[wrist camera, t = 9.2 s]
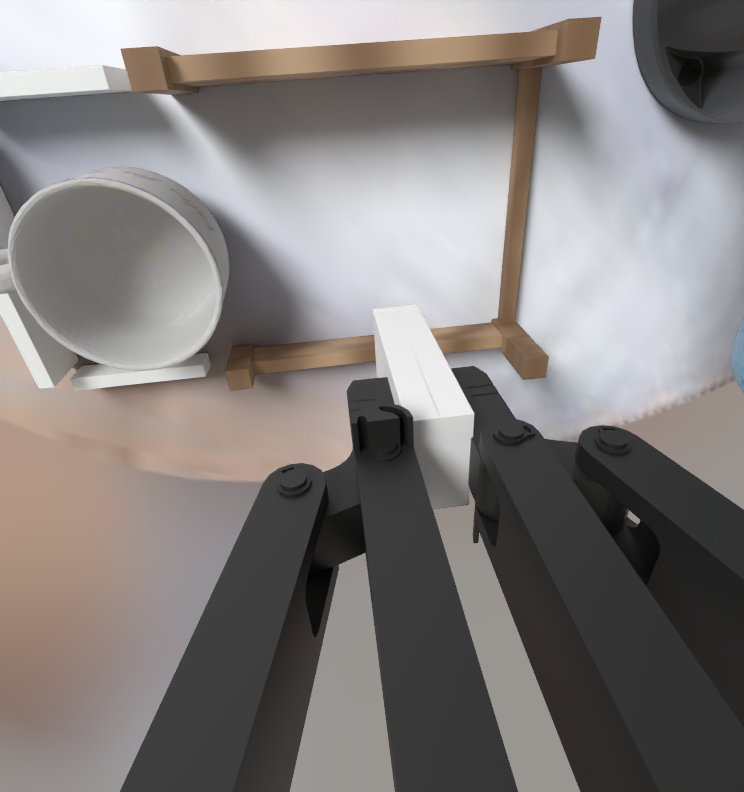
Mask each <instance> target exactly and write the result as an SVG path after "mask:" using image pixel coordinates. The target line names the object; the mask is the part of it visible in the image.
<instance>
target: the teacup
mask: <svg viewBox="0 0 744 792" xmlns="http://www.w3.org/2000/svg"><path fill="white" fill-rule="evenodd" d="M228 278H229V256H228V250H227V246H226V242H225V239H224V236H223V234H222V232H221V229H220V228H219V226H218V224H217V222H216V220H215V219H214V217H213V216H212V214H211V213H210V211H209V210H208V209H207V208H206V206H205V205H204V204H203V203H202V202H201V201H200V200H199V199H198V198H197V197H196V196H195V195H193V194H192V193H191V192H190V191H189V190H187V189H186V188H185V187H183V186H182V185H180V184H178V183H177V182H175V181H173V180H171V179H169V178H167V177H165V176H163V175H160V174H158V173H155V172H151V171H148V170H144V169H138V168H131V167H112V168H104V169H99V170H95V171H92V172H88V173H85V174H83V175H80V176H77V177H75V178H72V179H67V180H64V181H61V182H58V183H55V184H52V185H50V186H47V187H45V188H43V189H41V190H39V191H38V192H37V193H35V194H34V195H33V196H32V197H31V198H30V199H29V200H28V201H27V202H26V203H25V204H24V205H23V206H22V207H21V208H20V210H19V211H18V213H17V214H16V216H15V218H14V221H13V223H12V225H11V227H10V232H9V238H8V249H1V250H0V294H7V293H13V292H18V295H19V297H20V298H21V300H22V302H23V303H24V305H25V306H26V308H27V309H28V311H29V312H30V313H31V314H32V316H33V317H34V318H35V319H36V321H37V322H38V323H39V325H40V326H41V327H42V328H43V329H44V330H45V331H46V332H47V333H48V334H49V335H50V336H52V337H53V338H54V339H55V340H56V341H58V342H59V343H61V344H62V345H64V346H65V347H66V348H68V349H70V350H71V351H73V352H75V353H77V354H79V355H81V356H82V357H85V358H87V359H89V360H91V361H94V362H97V363H99V364H103V365H106V366H111V367H115V368H118V369H124V370H134V371H146V370H156V369H162V368H166V367H170V366H173V365H176V364H178V363H180V362H182V361H184V360H187V359H188V358H190V357H191V356H193V355H194V354H196V353H197V352H198V351H199V350H200V349H202V348H203V347H204V346H205V344H206V343H207V342H208V341H209V340H210V338H211V336H212V335H213V333H214V331H215V329H216V327H217V325H218V323H219V319H220V316H221V313H222V307H223V300H224V297H225V293H226V289H227V285H228Z"/></svg>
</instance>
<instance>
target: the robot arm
mask: <svg viewBox="0 0 744 792" xmlns="http://www.w3.org/2000/svg"><path fill="white" fill-rule="evenodd" d="M633 34H634V44H635V50H636V55H637V59H638V63H639V66H640V69H641V72H642V74H643V77H644V79H645V81H646V83H647V85H648V87H649V88H650V90H651V91H652V93H653V94H654V95H655V97H656V98H657V99H658V100H659V101H660V102H661V103H662V104H663V105H664V106H665V107H666V108H667V109H669V110H670V111H672V112H673V113H675V114H677V115H679V116H681V117H683V118H686V119H688V120H692V121H697V122H705V123H728V124H732V123H744V0H634V5H633ZM372 311H373V325H374V340H375V355H376V369H377V378H373V379H364V380H355V381H352V383H351V385H350V386H349V388H348V390H347V398H348V408H349V417H350V426H351V435H352V443H353V451H352V453H351V455H350V456H349V457H348V459H347V460H346V461H345V462H343V463H342V464H341V465H339V466H337V467H335V468H333V469H331V470H328V471H325V472H322V471H321V470H320V469H319V468H317V467H315V466H313V465H309V464H304V463H300V464H290V465H287V466H284V467H281V468H279V469H277V470H276V471H274V472H273V473H271V474H270V475H269V476H268V478H267V479H266V480H265V482H264V483H263V485H262V487H261V489H260V491H259V494H258V496H257V498H256V500H255V502H254V505H253V506H252V509H251V511H250V513H249V515H248V517H247V519H246V521H245V524H244V526H243V528H242V530H241V532H240V534H239V537H238V539H237V541H236V543H235V545H234V547H233V550H232V552H231V554H230V556H229V558H228V560H227V562H226V565H225V567H224V569H223V571H222V573H221V575H220V577H219V580H218V582H217V584H216V586H215V588H214V590H213V592H212V595H211V597H210V599H209V601H208V604H207V605H206V607H205V610H204V612H203V614H202V616H201V618H200V620H199V623H198V625H197V627H196V629H195V631H194V633H193V636H192V638H191V640H190V642H189V644H188V646H187V648H186V651H185V653H184V655H183V657H182V659H181V661H180V663H179V666H178V668H177V670H176V672H175V674H174V676H173V678H172V681H171V683H170V685H169V687H168V689H167V691H166V694H165V696H164V698H163V700H162V702H161V704H160V706H159V709H158V711H157V713H156V715H155V717H154V719H153V721H152V724H151V726H150V728H149V730H148V732H147V735H146V737H145V739H144V741H143V743H142V745H141V747H140V749H139V752H138V754H137V756H136V758H135V760H134V763H133V765H132V767H131V769H130V771H129V773H128V775H127V777H126V780H125V782H124V784H123V786H122V788H121V790H120V792H289V791H290V787H291V782H292V778H293V773H294V769H295V764H296V760H297V755H298V751H299V746H300V742H301V737H302V733H303V728H304V724H305V719H306V714H307V710H308V706H309V701H310V697H311V691H312V687H313V683H314V679H315V674H316V669H317V665H318V660H319V656H320V651H321V647H322V642H323V638H324V633H325V629H326V624H327V620H328V615H329V611H330V606H331V602H332V597H333V593H334V588H335V584H336V579H337V575H338V570H339V564H341V563H343V562H345V561H347V560H350V559H352V558H354V557H356V556H359V555H361V554H363V553H366V560H367V569H368V577H369V585H370V593H371V601H372V609H373V617H374V625H375V633H376V641H377V650H378V658H379V666H380V674H381V682H382V690H383V698H384V707H385V715H386V723H387V731H388V739H389V747H390V755H391V764H392V772H393V780H394V787H395V792H518V790H517V787H516V783H515V780H514V777H513V773H512V770H511V767H510V763H509V760H508V757H507V754H506V750H505V747H504V744H503V740H502V737H501V734H500V730H499V727H498V724H497V721H496V717H495V714H494V711H493V707H492V704H491V701H490V697H489V694H488V691H487V688H486V684H485V681H484V677H483V674H482V671H481V668H480V665H479V661H478V658H477V654H476V651H475V648H474V645H473V641H472V638H471V635H470V631H469V628H468V625H467V621H466V618H465V615H464V611H463V608H462V605H461V602H460V599H459V595H458V592H457V588H456V585H455V582H454V578H453V575H452V572H451V569H450V565H449V562H448V559H447V555H446V552H445V549H444V545H443V542H442V539H441V535H440V532H439V529H438V525H437V522H436V519H435V516H434V512H433V509H440V508H447V507H456V506H464V505H469V491H470V490H471V493H472V495H473V498H474V500H475V512H474V527H473V542H474V543H478V539H479V532H480V535H481V537H482V539H483V542H484V545H485V547H486V550H487V552H488V555H489V558H490V560H491V563H492V565H493V568H494V571H495V573H496V576H497V578H498V581H499V583H500V586H501V589H502V591H503V594H504V596H505V599H506V601H507V604H508V607H509V609H510V612H511V614H512V617H513V619H514V622H515V625H516V627H517V630H518V632H519V635H520V637H521V640H522V643H523V645H524V647H525V650H526V653H527V655H528V658H529V660H530V663H531V666H532V668H533V671H534V673H535V676H536V679H537V681H538V684H539V686H540V689H541V691H542V694H543V696H544V699H545V702H546V704H547V707H548V709H549V712H550V714H551V717H552V720H553V722H554V725H555V727H556V730H557V733H558V735H559V737H560V740H561V743H562V745H563V748H564V751H565V753H566V755H567V758H568V761H569V764H570V766H571V769H572V771H573V774H574V776H575V779H576V782H577V784H578V787H579V789H580V792H744V510H743V509H742V508H740V507H739V506H737V505H736V504H735V503H733V502H732V501H730V500H729V499H727V498H726V497H724V496H723V495H722V494H720V493H719V492H717V491H716V490H714V489H713V488H712V487H710V486H708V485H707V484H706V483H704V482H703V481H701V480H700V479H699V478H697V477H695V476H694V475H693V474H691V473H690V472H688V471H687V470H686V469H684V468H683V467H681V466H680V465H678V464H677V463H675V462H674V461H673V460H671V459H670V458H668V457H667V456H665V455H664V454H663V453H661V452H659V451H658V450H657V449H655V448H654V447H652V446H651V445H650V444H648V443H647V442H645V441H644V440H642V439H641V438H639V437H638V436H636V435H634V434H633V433H631V432H629V431H627V430H624V429H621V428H617V427H614V426H602V425H601V426H594V427H589V428H588V429H586V430H584V431H582V433H581V435H580V436H579V440H578V443H576V442H565V441H555V440H549V439H544V438H543V437H542V435H541V434H540V432H539V431H538V430H537V429H536V428H535V427H534V426H533V425H531V424H528V423H526V422H524V421H521V420H517V419H516V418H515V417H514V415H513V414H512V412H511V411H510V409H509V408H508V406H507V405H506V403H505V401H504V400H503V398H502V397H501V395H500V394H498V391H497V389H496V388H495V386H493V383H492V381H491V380H490V378H489V377H488V375H487V374H486V373H484V372H483V371H481V370H479V369H478V368H476V367H475V366H470V367H461V368H452V369H450V367H449V365H448V363H447V361H446V359H445V357H444V355H443V353H442V351H441V350H440V348H439V346H438V344H437V342H436V340H435V338H434V336H433V334H432V332H431V331H430V329H429V327H428V325H427V323H426V321H425V319H424V317H423V315H422V313H421V312H420V310H419V308H418V306H417V305H407V306H398V307H388V308H378V309H372ZM731 367H732V371H733V374H734V377H735V379H736V381H737V383H738V385H739V386H740V387H741V389H742V390H743V392H744V317H743V319H742V322H741V325H740V328H739V330H738V333H737V336H736V339H735V341H734V344H733V347H732V352H731ZM629 510H630V511H631V512H632V513H633V514H635V515H636V516H637V517H638V518H639V519H640V523H639V524H636V523H634V522H633V521H632V520H630V519H629V518H628V517H627V515H628V511H629Z"/></svg>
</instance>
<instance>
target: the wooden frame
mask: <svg viewBox="0 0 744 792" xmlns="http://www.w3.org/2000/svg"><path fill="white" fill-rule="evenodd" d="M600 23H601V17H592V18H577V19H567V20H564V21H561V22H558V23H555V24H552V25H549V26H546V27H543V28H540V29H537V30H534V31H531V32H521V33H507V34H492V35H477V36H462V37H448V38H433V39H418V40H404V41H389V42H374V43H359V44H345V45H330V46H315V47H300V48H286V49H271V50H256V51H241V52H227V53H212V54H197V55H182V56H181V55H178V54H176V53H173V52H171V51H168V50H165V49H163V48H160V47H158V46H156V47H141V48H125V49H121V53H122V56H123V60H124V63H125V67H126V70H127V74H128V77H129V81H130V85H131V88H132V92H141V93H154V94H167V95H175V94H188V93H199V92H198V88H197V87H200V86H214V85H227V84H241V83H255V82H269V81H283V80H297V79H311V78H325V77H339V76H353V75H367V74H380V73H394V72H408V71H422V70H436V69H450V68H464V67H478V66H492V65H506V64H512V67H511V70H519V78H518V89H517V101H516V113H515V124H514V136H513V148H512V160H511V171H510V183H509V195H508V206H507V218H506V230H505V241H504V253H503V265H502V276H501V288H500V300H499V311H498V319H492V323H484V324H475V325H465V326H456V327H446V328H437V329H430V331H431V332H432V334H433V336H434V338H435V340H436V342H437V344H438V346H439V348H440V350H441V351H442V353H443V354H446V353H455V352H465V351H474V350H483V349H492V348H499V349H500V351H501V352H502V353H503V354H504V356H505V357H506V358H507V360H508V361H509V362H510V363H511V365H512V366H513V367H514V369H515V370H516V371H517V373H518V374H519V375H520V376H521V378H522V379H523V380H526V379H535V378H544V377H546V371H547V365H548V358H549V357H548V355H547V354H546V353H545V352H544V351H543V350H542V349H541V348H540V347H539V346H538V345H537V344H536V343H535V342H534V341H533V340H532V339H531V338H530V336H529V335H528V334H527V333H526V332H525V331H524V330H523V329H522V328H521V327H520V326H519V325H518V324H517V323H516V322H515V314H516V305H517V295H518V286H519V277H520V267H521V258H522V249H523V239H524V230H525V220H526V211H527V202H528V192H529V183H530V173H531V164H532V155H533V145H534V136H535V126H536V117H537V108H538V98H539V89H540V80H541V70H542V67H547V66H553V65H559V64H565V63H571V62H577V61H584V60H590V59H595V55H596V49H597V42H598V36H599V29H600ZM373 361H376V355H375V340H374V335H370V336H361V337H351V338H342V339H332V340H323V341H313V342H304V343H295V344H285V345H276V346H266V347H257V348H254V344H251V345H242V346H233V348H232V351H231V354H230V357H229V360H228V363H227V366H226V369H225V373H226V377H227V381H228V385H229V388H230V391H231V390H240V389H249V388H253V383H254V378H255V374H263V373H272V372H281V371H290V370H299V369H308V368H318V367H327V366H336V365H345V364H354V363H364V362H373Z"/></svg>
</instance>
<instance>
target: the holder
mask: <svg viewBox="0 0 744 792" xmlns="http://www.w3.org/2000/svg"><path fill="white" fill-rule="evenodd" d="M130 91H132V88H131V85H130V81H129V77H128V74H127V70H124V69H119V68H114V67H109V66H104V65H98V66H83V67H68V68H54V69H39V70H24V71H10V72H0V101H5V100H19V99H33V98H47V97H61V96H74V95H88V94H102V93H116V92H130ZM14 218H15V217H14V215H13V212H12V210H11V208H10V206H9V203H8V201H7V199H6V197H5V195H4V192H3V190H2V188H1V186H0V250H1V249H8V238H9V232H10V227H11V225H12V223H13V221H14ZM0 314H1V316H2V318H3V320H4V322H5V324H6V325H7V327H8V329H9V331H10V333H11V335H12V337H13V339H14V341H15V343H16V345H17V347H18V349H19V351H20V352H21V354H22V356H23V358H24V360H25V362H26V364H27V366H28V368H29V370H30V372H31V374H32V376H33V378H34V379H35V381H36V383H37V385H38V387H39V389H41V388H50V387H55V386H56V385H57V384H58V383H59V381H60V380H61V379H62V378H63V377H64V376H65V375H66V374H67V373H68V372H69V370H70V369H71V368H72V367H73V366H74V365H75V364H76V363H77V362H78V361H79V359H78V357H77V355H76V353H75V352H73V351H71V350H70V349H68V348H66V347H65V346H64V345H62V344H61V343H59V342H58V341H56V340H55V339H54V338H53V337H52V336H50V335H49V334H48V333H47V332H46V331H45V330H44V329H43V328H42V327H41V326H40V325H39V323H38V322H37V321H36V319H35V318H34V317H33V316H32V314H31V313H30V312H29V311H28V309H27V308H26V306H25V305H24V303H23V302H22V300H21V298H20V297H19V295H18V292H13V293H7V294H0ZM210 365H211V363H210V359H209V355H208V353H200V354H194V355H193V356H191V357H190V358H188V359H187V360H184V361H182V362H180V363H178V364H176V365H173V366H170V367H166V368H162V369H156V370H146V371H134V370H124V369H118V368H115V367H111V366H106V365H103V364H96V365H86V366H81V367H80V368H79V369H78V371H77V372H76V373H75V374H74V375H73V376H72V377H71V378H70V380H71V382H72V384H73V386H74V388H75V390H76V391H77V390H86V389H95V388H105V387H114V386H123V385H132V384H141V383H151V382H160V381H169V380H178V379H188V378H197V377H206V375H207V373H208V370H209V368H210Z"/></svg>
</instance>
